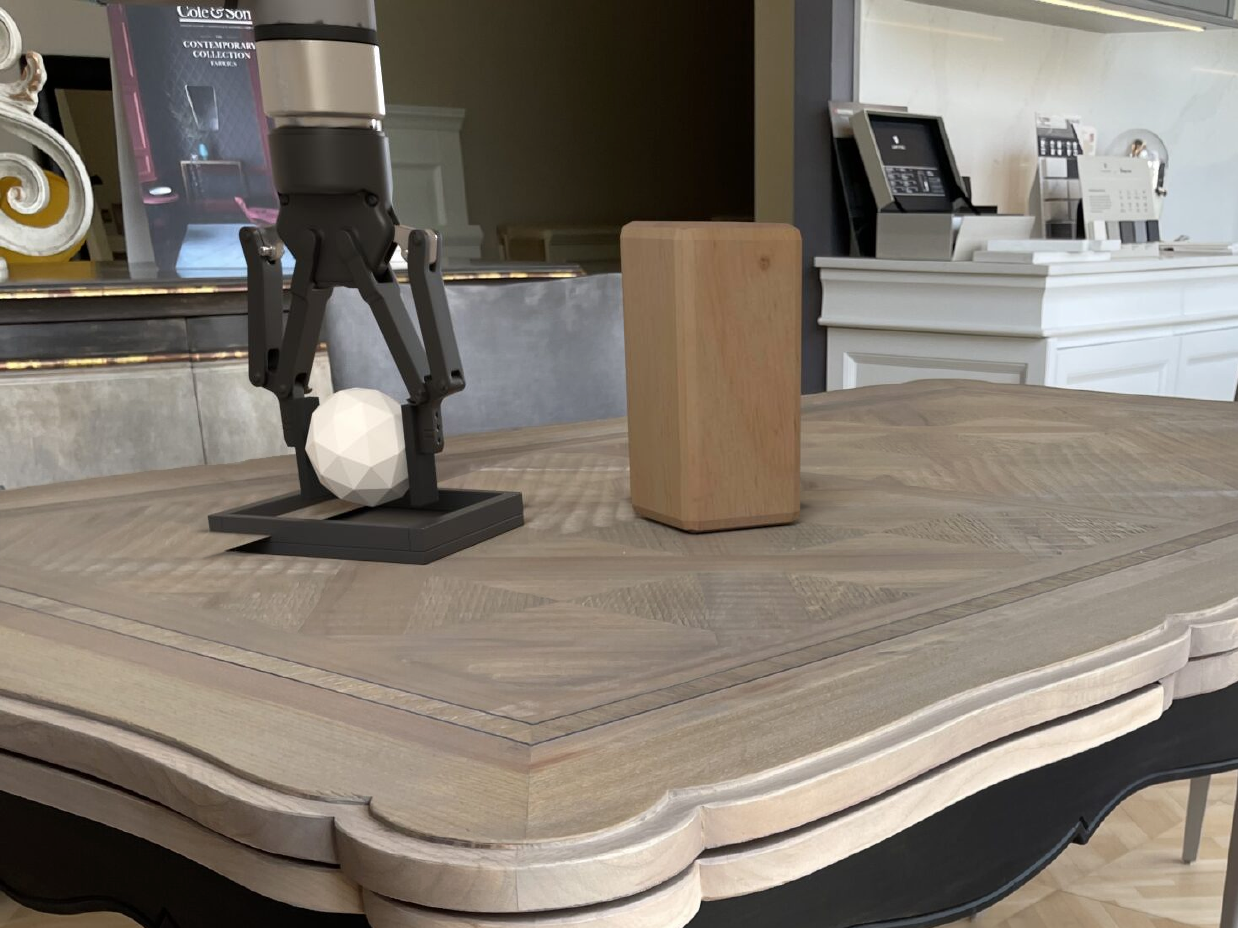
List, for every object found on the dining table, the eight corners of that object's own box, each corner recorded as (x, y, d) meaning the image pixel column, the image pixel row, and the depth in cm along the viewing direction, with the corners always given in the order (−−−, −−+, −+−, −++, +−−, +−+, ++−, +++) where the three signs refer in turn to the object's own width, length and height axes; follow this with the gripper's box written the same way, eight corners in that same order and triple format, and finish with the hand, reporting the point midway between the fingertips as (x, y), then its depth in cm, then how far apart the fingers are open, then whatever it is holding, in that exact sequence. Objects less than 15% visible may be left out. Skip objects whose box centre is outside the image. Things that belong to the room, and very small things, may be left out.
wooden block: (805, 524, 119) (808, 223, 110) (688, 536, 115) (680, 222, 105) (739, 505, 127) (736, 221, 117) (626, 515, 122) (613, 220, 112)
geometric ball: (389, 538, 116) (434, 439, 116) (395, 514, 108) (443, 408, 108) (288, 484, 113) (335, 383, 113) (287, 456, 105) (337, 347, 106)
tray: (212, 550, 108) (206, 515, 107) (332, 512, 122) (328, 481, 121) (425, 564, 105) (421, 528, 104) (524, 524, 118) (522, 491, 117)
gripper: (500, 128, 102) (527, 499, 113) (218, 127, 107) (270, 484, 118) (448, 122, 96) (481, 516, 107) (150, 122, 100) (211, 500, 111)
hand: (370, 499), depth 112 cm, fingers closed on geometric ball, 8 cm apart
